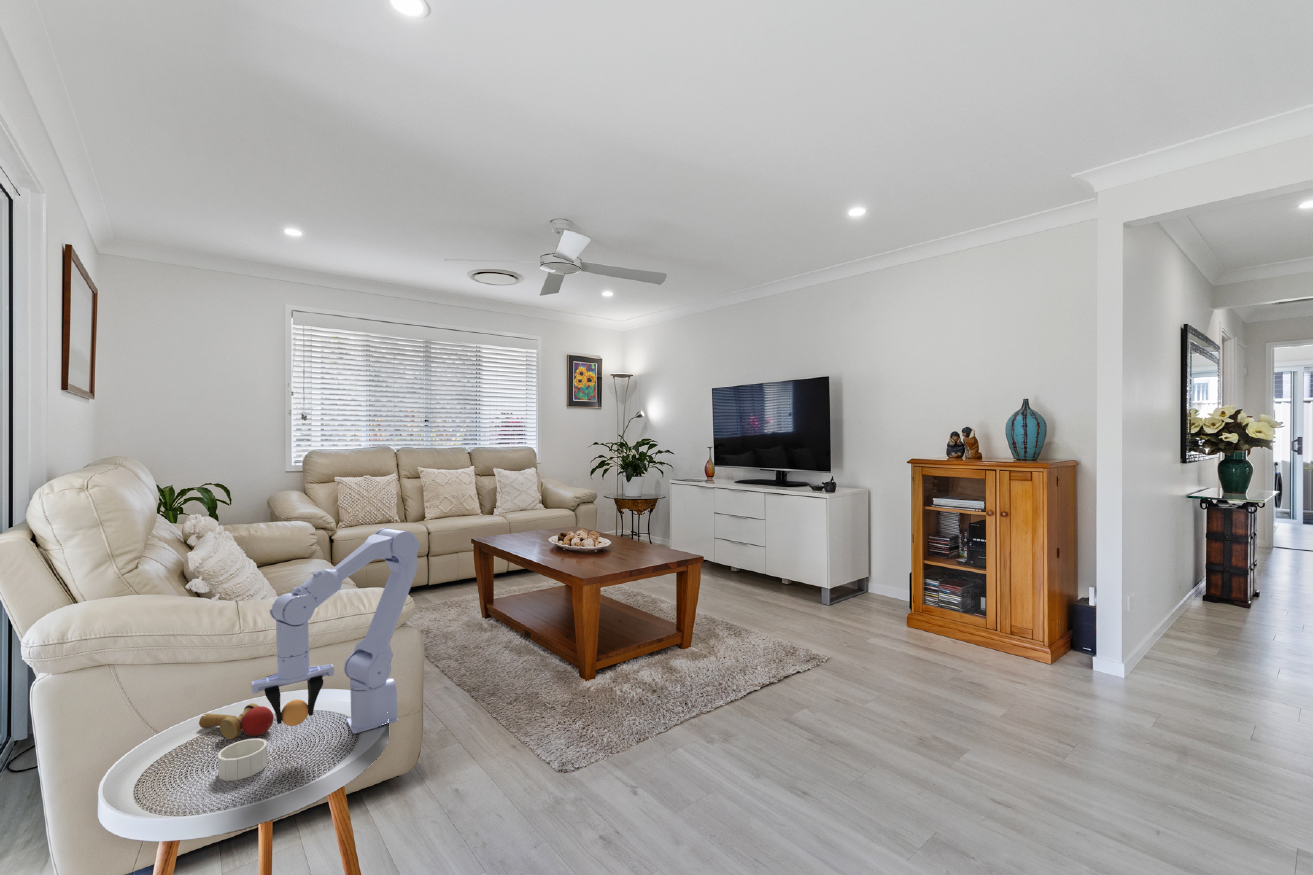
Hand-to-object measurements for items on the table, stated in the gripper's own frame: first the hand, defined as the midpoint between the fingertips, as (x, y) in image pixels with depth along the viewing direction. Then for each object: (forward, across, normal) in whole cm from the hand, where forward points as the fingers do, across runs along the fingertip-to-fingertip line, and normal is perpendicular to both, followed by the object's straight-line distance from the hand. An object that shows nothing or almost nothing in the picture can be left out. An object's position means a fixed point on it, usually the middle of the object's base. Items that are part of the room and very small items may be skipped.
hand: (295, 717), depth 126 cm
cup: (+8, +9, 0) cm, 12 cm away
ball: (-1, 0, 0) cm, 1 cm away
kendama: (+8, +10, -20) cm, 23 cm away
